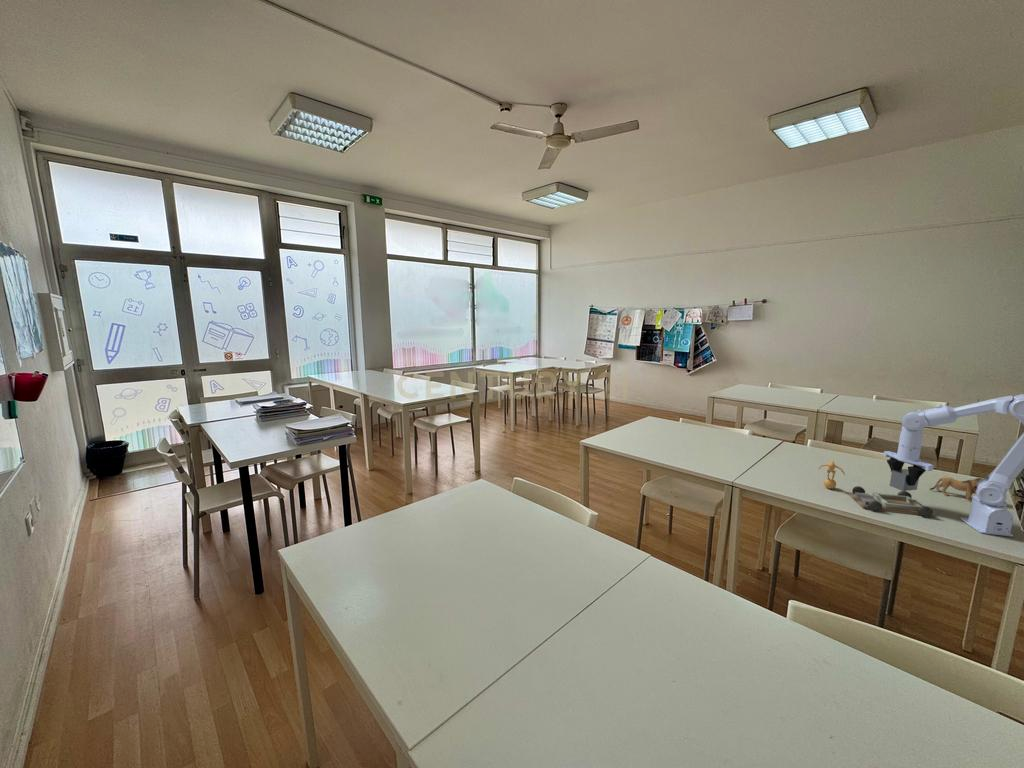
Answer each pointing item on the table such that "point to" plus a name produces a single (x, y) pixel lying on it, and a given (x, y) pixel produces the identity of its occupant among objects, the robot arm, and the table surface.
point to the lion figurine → (958, 486)
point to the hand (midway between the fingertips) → (903, 482)
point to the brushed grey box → (901, 480)
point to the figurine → (830, 482)
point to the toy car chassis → (890, 502)
